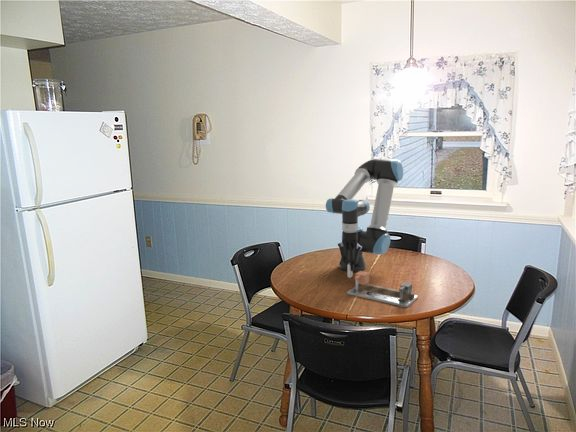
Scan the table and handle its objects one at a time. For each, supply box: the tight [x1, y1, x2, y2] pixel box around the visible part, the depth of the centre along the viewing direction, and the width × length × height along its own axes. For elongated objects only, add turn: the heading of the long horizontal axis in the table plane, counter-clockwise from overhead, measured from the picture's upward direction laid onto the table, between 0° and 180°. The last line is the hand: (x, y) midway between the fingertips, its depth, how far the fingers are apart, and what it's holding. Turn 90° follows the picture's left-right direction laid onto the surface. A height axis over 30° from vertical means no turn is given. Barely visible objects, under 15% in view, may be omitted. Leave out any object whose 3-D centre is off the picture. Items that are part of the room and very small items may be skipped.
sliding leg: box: [354, 270, 370, 290], centre depth 208 cm, size 5×9×7 cm, turn 143°
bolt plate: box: [346, 285, 419, 309], centre depth 202 cm, size 30×13×1 cm, turn 53°
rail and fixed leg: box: [358, 281, 416, 301], centre depth 201 cm, size 29×9×6 cm, turn 53°
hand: (350, 276), depth 214 cm, fingers closed
